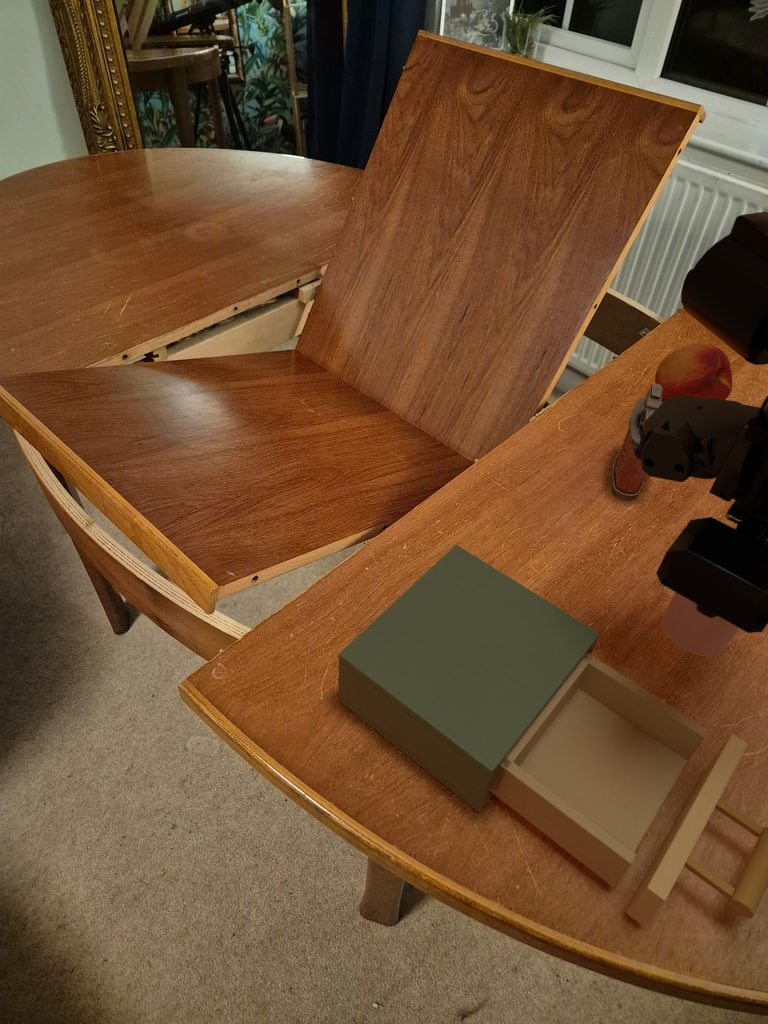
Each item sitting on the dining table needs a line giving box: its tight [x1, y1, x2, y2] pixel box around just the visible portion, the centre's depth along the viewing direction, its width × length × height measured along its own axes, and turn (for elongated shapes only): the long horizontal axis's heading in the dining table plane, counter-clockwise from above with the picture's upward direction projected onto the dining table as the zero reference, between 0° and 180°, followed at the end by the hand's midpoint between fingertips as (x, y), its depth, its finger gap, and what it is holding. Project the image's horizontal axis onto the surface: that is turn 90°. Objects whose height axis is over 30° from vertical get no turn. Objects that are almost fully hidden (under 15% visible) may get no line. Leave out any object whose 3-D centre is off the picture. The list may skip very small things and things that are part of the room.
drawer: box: [489, 653, 768, 926], centre depth 51 cm, size 17×13×5 cm
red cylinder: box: [662, 591, 740, 657], centre depth 52 cm, size 5×5×7 cm
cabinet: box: [338, 544, 600, 813], centre depth 58 cm, size 14×15×7 cm
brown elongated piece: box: [610, 382, 664, 502], centre depth 76 cm, size 8×3×10 cm, turn 161°
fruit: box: [654, 343, 733, 402], centre depth 86 cm, size 8×8×8 cm
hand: (719, 590), depth 51 cm, fingers closed on red cylinder, 5 cm apart
